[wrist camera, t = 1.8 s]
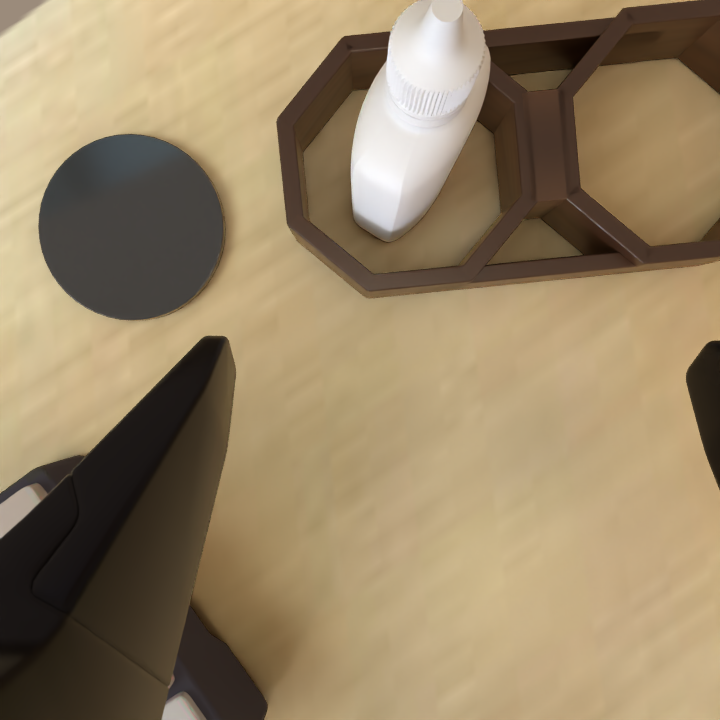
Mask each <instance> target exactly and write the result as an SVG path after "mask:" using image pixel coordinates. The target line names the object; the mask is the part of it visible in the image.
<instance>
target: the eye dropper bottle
mask: <svg viewBox="0 0 720 720" xmlns="http://www.w3.org/2000/svg"><path fill="white" fill-rule="evenodd" d="M481 27H482V25H481V24H480V23H479V20H478V19H477V17H476V16H475V15H474V13H473V12H472V11H470V9H469V8H467V7H466V6H465V5H463V1H462V0H419V1H417V2H416V3H413V5H410V6H408V8H407V9H405V10H404V12H402V13H401V15H400V16H399V17H398V19H397V20H396V21H395V25H393V28H392V30H391V35H390V36H389V44H388V55H387V61H386V62H385V64H384V65H383V66H382V68H381V69H380V71H379V72H378V74H377V75H376V77H375V79H374V81H373V83H372V84H371V86H370V89H369V91H368V93H367V95H366V97H365V100H364V102H363V105H362V108H361V111H360V114H359V117H358V121H357V124H356V128H355V133H354V139H353V146H352V152H351V190H352V209H353V217H354V221H355V222H356V223H357V224H358V226H360V227H361V228H363V229H364V230H366V231H368V232H369V233H371V234H373V235H374V236H376V237H378V238H379V239H381V240H383V241H387V242H391V241H395V240H397V239H398V238H400V237H402V236H403V235H404V234H406V233H407V232H408V231H409V230H410V229H412V228H413V227H414V226H415V225H416V224H417V223H418V222H419V221H420V220H421V219H422V218H423V216H424V215H425V214H426V213H427V211H428V210H429V209H430V207H431V206H432V204H433V203H434V201H435V200H436V198H437V196H438V194H439V193H440V191H441V189H442V187H443V185H444V183H445V181H446V179H447V177H448V175H449V173H450V171H451V169H452V168H453V166H454V164H455V162H456V160H457V158H458V156H459V154H460V152H461V150H462V148H463V146H464V144H465V142H466V140H467V138H468V136H469V135H470V133H471V131H472V128H473V126H474V124H475V122H476V120H477V118H478V115H479V113H480V110H481V107H482V104H483V101H484V98H485V94H486V91H487V86H488V81H489V74H490V61H491V58H490V53H489V49H488V47H487V46H486V44H485V41H486V40H485V39H484V37H485V35H484V33H483V31H484V30H483V29H482V28H481Z"/></svg>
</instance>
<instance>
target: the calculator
mask: <svg viewBox="0 0 720 720" xmlns="http://www.w3.org/2000/svg"><path fill="white" fill-rule="evenodd" d="M83 458H84V457H83V456H80V455H78V456H73V457H70V458H66V459H63V460H60V461H56V462H53V463H50V464H47V465H43V466H40V467H37V468H35V469H33V470H32V471H30V472H29V473H28V474H26V475H25V476H24V477H22V478H21V479H19V480H18V481H17V482H15V483H14V484H13V485H11V486H10V487H8V488H7V489H6V490H4V491H3V492H2V493H0V538H1V537H3V536H4V535H5V534H6V533H7V532H8V531H9V530H10V529H12V528H13V527H14V526H15V525H16V524H17V523H18V522H19V521H20V520H22V519H23V518H24V517H25V516H26V515H27V514H28V513H29V512H30V511H31V510H32V509H33V508H34V507H35V506H36V505H37V504H38V503H39V502H40V501H41V500H42V499H43V498H44V497H46V496H47V495H48V494H49V493H50V492H51V491H52V490H53V489H54V488H55V487H56V486H57V485H58V484H59V483H60V482H61V481H62V480H63V478H64V477H65V476H66V475H68V474H71V471H72V470H73V469H74V468H75V467H76V466H77V465H78V464H79V463H80V462H81V460H82V459H83ZM168 688H169V691H168V696H167V700H166V704H165V708H164V712H163V716H162V720H264V718H265V715H266V712H267V702H266V700H265V699H264V697H263V696H262V694H261V693H260V691H259V690H258V689H257V687H256V686H255V684H254V683H253V682H252V680H251V679H250V677H249V676H248V674H247V673H246V672H245V670H244V669H243V667H242V666H241V665H240V663H239V662H238V660H237V659H236V657H235V656H234V655H233V653H232V652H231V650H230V649H229V648H228V646H227V645H226V644H225V643H224V642H222V641H221V640H219V639H217V638H216V637H214V636H212V635H211V634H210V633H209V632H208V630H207V629H206V628H205V626H204V625H203V623H202V622H201V621H200V619H199V618H198V616H197V615H196V613H195V612H194V611H193V609H192V608H191V606H190V605H189V609H188V613H187V617H186V621H185V625H184V629H183V633H182V637H181V641H180V645H179V650H178V654H177V658H176V662H175V666H174V670H173V674H172V678H171V682H170V685H169V686H168Z"/></svg>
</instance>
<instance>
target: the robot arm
mask: <svg viewBox="0 0 720 720" xmlns="http://www.w3.org/2000/svg"><path fill="white" fill-rule="evenodd" d="M235 380H236V367H235V362H234V359H233V355H232V351H231V347H230V343H229V340H228V339H227V337H225V336H205V337H203V338H202V339H201V340H200V341H199V342H198V343H197V344H196V345H195V346H194V347H193V348H192V349H191V350H190V351H189V352H188V353H187V354H186V355H185V356H184V357H183V358H182V359H181V360H180V361H179V362H178V363H177V364H176V365H175V366H174V367H173V368H172V369H171V370H170V371H169V372H168V373H167V374H166V375H165V376H164V377H163V378H162V379H161V380H160V381H159V382H158V383H157V384H156V385H155V386H154V388H153V389H152V390H151V391H150V392H149V393H148V394H147V395H146V396H145V397H144V398H143V399H142V400H141V401H140V402H139V403H138V404H137V405H136V406H135V407H134V408H133V409H132V410H131V411H130V412H129V413H128V414H127V415H126V416H125V417H124V418H123V419H122V420H121V421H120V422H119V423H118V424H117V425H116V426H115V427H114V428H113V429H112V430H111V431H110V432H109V433H108V434H107V435H106V436H105V437H104V438H103V439H102V440H101V441H100V442H99V443H98V444H97V445H96V446H95V447H94V448H93V449H92V450H91V451H90V452H89V453H88V454H87V455H86V456H85V457H84V458H83V459H82V460H81V462H80V463H79V464H78V465H77V466H76V467H75V468H74V469H73V470H72V471H71V474H68V475H66V476H65V477H64V478H63V480H62V481H61V482H60V483H59V484H58V485H57V486H56V487H55V488H54V489H53V490H52V491H51V492H50V493H49V494H48V495H47V496H46V497H44V498H43V499H42V500H41V501H40V502H39V503H38V504H37V505H36V506H35V507H34V508H33V509H32V510H31V511H30V512H29V513H28V514H27V515H26V516H25V517H24V518H23V519H22V520H20V521H19V522H18V523H17V524H16V525H15V526H14V527H13V528H12V529H10V530H9V531H8V532H7V533H6V534H5V535H4V536H3V537H1V538H0V720H162V716H163V712H164V708H165V704H166V700H167V696H168V691H169V688H168V686H169V685H170V682H171V678H172V674H173V670H174V666H175V662H176V658H177V654H178V650H179V645H180V641H181V637H182V633H183V629H184V625H185V621H186V617H187V613H188V609H189V604H190V600H191V596H192V592H193V588H194V584H195V580H196V576H197V572H198V568H199V563H200V559H201V555H202V551H203V547H204V543H205V539H206V535H207V531H208V527H209V522H210V518H211V514H212V510H213V506H214V502H215V498H216V494H217V490H218V486H219V481H220V477H221V473H222V469H223V465H224V461H225V457H226V452H227V447H228V440H229V432H230V423H231V414H232V406H233V397H234V388H235ZM686 383H687V387H688V391H689V394H690V398H691V402H692V406H693V410H694V413H695V417H696V421H697V425H698V429H699V432H700V436H701V440H702V443H703V447H704V450H705V453H706V456H707V459H708V462H709V464H710V467H711V469H712V472H713V474H714V477H715V480H716V482H717V485H718V487H719V490H720V341H711V342H709V343H707V344H706V345H705V346H704V348H703V349H702V350H701V352H700V353H699V355H698V356H697V357H696V359H695V360H694V361H693V363H692V364H691V365H690V367H689V368H688V370H687V373H686Z"/></svg>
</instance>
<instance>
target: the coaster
mask: <svg viewBox="0 0 720 720" xmlns="http://www.w3.org/2000/svg"><path fill="white" fill-rule="evenodd" d="M39 239H40V244H41V249H42V253H43V255H44V258H45V261H46V264H47V266H48V267H49V269H50V271H51V273H52V275H53V276H54V278H55V279H56V281H57V282H58V284H59V285H60V286H61V287H62V288H63V289H64V291H65V292H66V293H67V294H68V295H69V296H71V297H72V298H73V299H74V300H75V301H76V302H78V303H79V304H81V305H82V306H84V307H85V308H87V309H89V310H91V311H93V312H95V313H98V314H101V315H103V316H106V317H110V318H115V319H120V320H132V321H138V320H149V319H154V318H159V317H162V316H165V315H168V314H170V313H173V312H175V311H177V310H179V309H181V308H182V307H184V306H185V305H187V304H188V303H190V302H191V301H192V300H193V299H194V298H195V297H196V296H198V295H199V294H200V293H201V291H202V290H203V289H204V288H205V287H206V286H207V284H208V283H209V281H210V280H211V278H212V277H213V275H214V273H215V271H216V269H217V267H218V265H219V262H220V259H221V256H222V252H223V247H224V242H225V218H224V213H223V208H222V204H221V201H220V198H219V195H218V193H217V191H216V189H215V187H214V185H213V183H212V181H211V180H210V178H209V177H208V175H207V174H206V173H205V172H204V170H203V169H202V168H201V167H200V166H199V165H198V164H197V162H196V161H194V160H193V159H192V158H191V157H190V156H189V155H188V154H186V153H185V152H184V151H182V150H181V149H179V148H178V147H176V146H174V145H172V144H170V143H168V142H166V141H163V140H160V139H157V138H155V137H150V136H145V135H136V134H123V135H114V136H109V137H105V138H102V139H99V140H96V141H94V142H92V143H90V144H88V145H86V146H84V147H82V148H81V149H79V150H78V151H76V152H75V153H73V154H72V155H71V156H70V157H69V158H68V159H67V160H66V161H64V163H63V164H62V165H61V166H60V167H59V168H58V170H57V171H56V172H55V174H54V176H53V177H52V179H51V180H50V182H49V184H48V186H47V188H46V191H45V193H44V196H43V199H42V202H41V208H40V213H39Z"/></svg>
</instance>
